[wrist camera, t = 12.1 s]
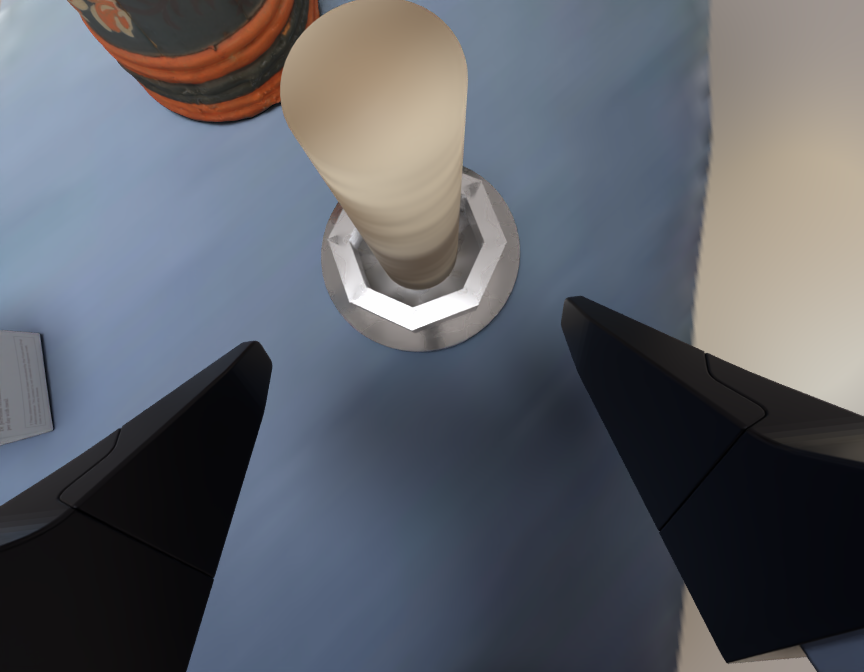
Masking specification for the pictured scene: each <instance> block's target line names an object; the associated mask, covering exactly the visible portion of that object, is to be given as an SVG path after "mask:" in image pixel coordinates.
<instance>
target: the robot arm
mask: <svg viewBox="0 0 864 672" xmlns="http://www.w3.org/2000/svg"><path fill="white" fill-rule="evenodd" d="M561 326H562V330H563V333H564V336H565V338H566V341H567V344H568V347H569V349H570V352H571V355H572V358H573V361H574V363H575V366H576V369H577V371H578V373H579V376H580V378H581V380H582V382H583V384H584V386H585V388H586V390H587V391H588V393H589V395H590V397H591V399H592V401H593V403H594V405H595V407H596V409H597V411H598V413H599V415H600V417H601V419H602V421H603V423H604V425H605V427H606V429H607V431H608V433H609V435H610V437H611V439H612V441H613V443H614V445H615V446H616V448H617V450H618V452H619V454H620V456H621V458H622V460H623V462H624V464H625V466H626V468H627V470H628V472H629V474H630V476H631V478H632V480H633V482H634V484H635V486H636V488H637V490H638V492H639V494H640V496H641V498H642V499H643V501H644V503H645V505H646V507H647V509H648V511H649V513H650V515H651V517H652V519H653V521H654V523H655V525H656V527H657V529H658V530H659V531H660V532H659V533H660V535H661V537H662V539H663V541H664V543H665V545H666V547H667V549H668V551H669V553H670V555H671V557H672V559H673V561H674V563H675V565H676V567H677V569H678V571H679V573H680V575H681V577H682V578H683V580H684V582H685V584H686V586H687V588H688V590H689V592H690V594H691V596H692V598H693V600H694V602H695V604H696V606H697V608H698V610H699V612H700V614H701V616H702V618H703V620H704V622H705V624H706V626H707V628H708V630H709V632H710V633H711V635H712V637H713V639H714V641H715V643H716V645H717V647H718V649H719V651H720V653H721V655H722V656H723V658H724V660H725V661H726V663H728V664H730V663H742V662H754V661H766V660H776V659H789V658H800V657H807V658H808V659H809V661H810V662H811V663H812V665H813V666H814V668H815V669H816V671H817V672H864V416H861V415H859V414H856V413H854V412H851V411H849V410H846V409H844V408H841V407H838V406H836V405H833V404H831V403H828V402H825V401H823V400H820V399H818V398H815V397H812V396H810V395H808V394H805V393H802V392H800V391H797V390H795V389H792V388H790V387H786V386H784V385H782V384H779V383H776V382H774V381H772V380H769V379H767V378H764V377H761V376H759V375H757V374H754V373H752V372H749V371H747V370H744V369H742V368H740V367H738V366H736V365H733V364H731V363H729V362H726V361H724V360H722V359H720V358H717V357H715V356H713V355H711V354H709V353H704V351H702V350H700V349H698V348H695V347H693V346H691V345H689V344H687V343H684V342H682V341H680V340H678V339H676V338H673V337H671V336H669V335H667V334H665V333H662V332H660V331H658V330H656V329H653V328H651V327H649V326H647V325H645V324H642V323H640V322H638V321H636V320H634V319H631V318H629V317H627V316H625V315H623V314H620V313H618V312H616V311H614V310H612V309H609V308H607V307H605V306H603V305H601V304H598V303H596V302H594V301H592V300H589V299H587V298H585V297H583V296H574V297H568V298H566V299H565V301H564V307H563V313H562V319H561ZM271 372H272V362H271V359H270V358H269V356H268V355H267V353H266V351H265V350H264V348H263V347H262V345H261V344H260V343H259V342H258V341H249V342H243V343H241V344H240V345H238V346H237V347H235V348H234V349H232V350H231V351H230V352H228V353H227V354H225V355H224V356H222V357H221V358H219V359H218V360H217V361H215V362H214V363H212V364H211V365H209V366H208V367H207V368H205V369H204V370H202V371H201V372H199V373H198V374H196V375H195V376H194V377H192V378H191V379H189V380H188V381H186V382H185V383H184V384H182V385H181V386H179V387H178V388H176V389H175V390H173V391H172V392H171V393H169V394H168V395H166V396H165V397H163V398H162V399H161V400H159V401H158V402H156V403H155V404H153V405H152V406H150V407H149V408H148V409H146V410H145V411H143V412H142V413H140V414H139V415H138V416H136V417H135V418H133V419H132V420H130V421H129V422H128V423H126V424H125V425H123V426H122V428H119V429H117V430H116V431H114V432H113V433H112V434H110V435H109V436H107V437H106V438H104V439H103V440H101V441H100V442H99V443H97V444H96V445H94V446H93V447H91V448H90V449H88V450H87V451H85V452H84V453H82V454H81V455H79V456H78V457H76V458H75V459H73V460H72V461H70V462H69V463H67V464H66V465H64V466H63V467H61V468H59V469H58V470H56V471H55V472H53V473H52V474H50V475H49V476H47V477H46V478H44V479H42V480H41V481H39V482H38V483H36V484H35V485H33V486H31V487H30V488H28V489H27V490H25V491H24V492H22V493H20V494H19V495H17V496H16V497H14V498H13V499H11V500H9V501H8V502H6V503H5V504H3V505H2V506H0V672H186V671H187V667H188V664H189V661H190V657H191V654H192V651H193V647H194V644H195V641H196V637H197V634H198V631H199V628H200V624H201V621H202V618H203V614H204V611H205V608H206V604H207V601H208V598H209V594H210V591H211V588H212V584H213V581H214V579H213V578H214V577H215V574H216V571H217V567H218V564H219V561H220V557H221V554H222V551H223V547H224V544H225V541H226V537H227V534H228V531H229V527H230V524H231V521H232V518H233V514H234V511H235V508H236V504H237V501H238V498H239V494H240V491H241V488H242V484H243V481H244V478H245V474H246V471H247V468H248V465H249V461H250V458H251V455H252V451H253V448H254V445H255V441H256V438H257V435H258V431H259V428H260V425H261V421H262V418H263V414H264V410H265V406H266V400H267V395H268V389H269V384H270V378H271Z"/></svg>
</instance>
